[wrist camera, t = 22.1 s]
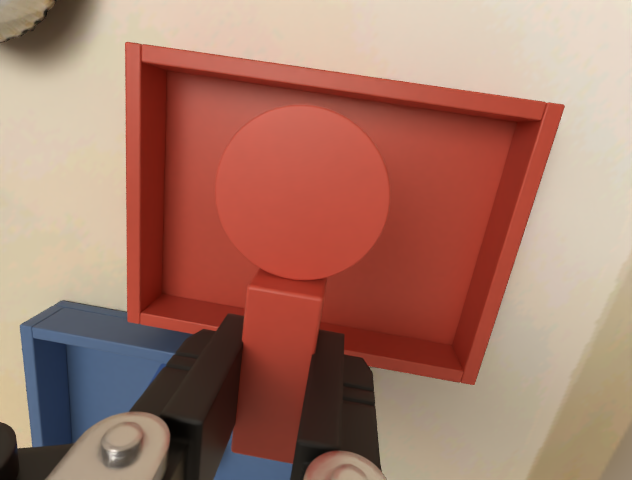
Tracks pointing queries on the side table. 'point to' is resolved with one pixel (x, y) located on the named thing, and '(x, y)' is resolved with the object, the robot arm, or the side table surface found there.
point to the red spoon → (293, 251)
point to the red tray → (402, 223)
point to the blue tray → (103, 377)
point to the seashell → (21, 16)
